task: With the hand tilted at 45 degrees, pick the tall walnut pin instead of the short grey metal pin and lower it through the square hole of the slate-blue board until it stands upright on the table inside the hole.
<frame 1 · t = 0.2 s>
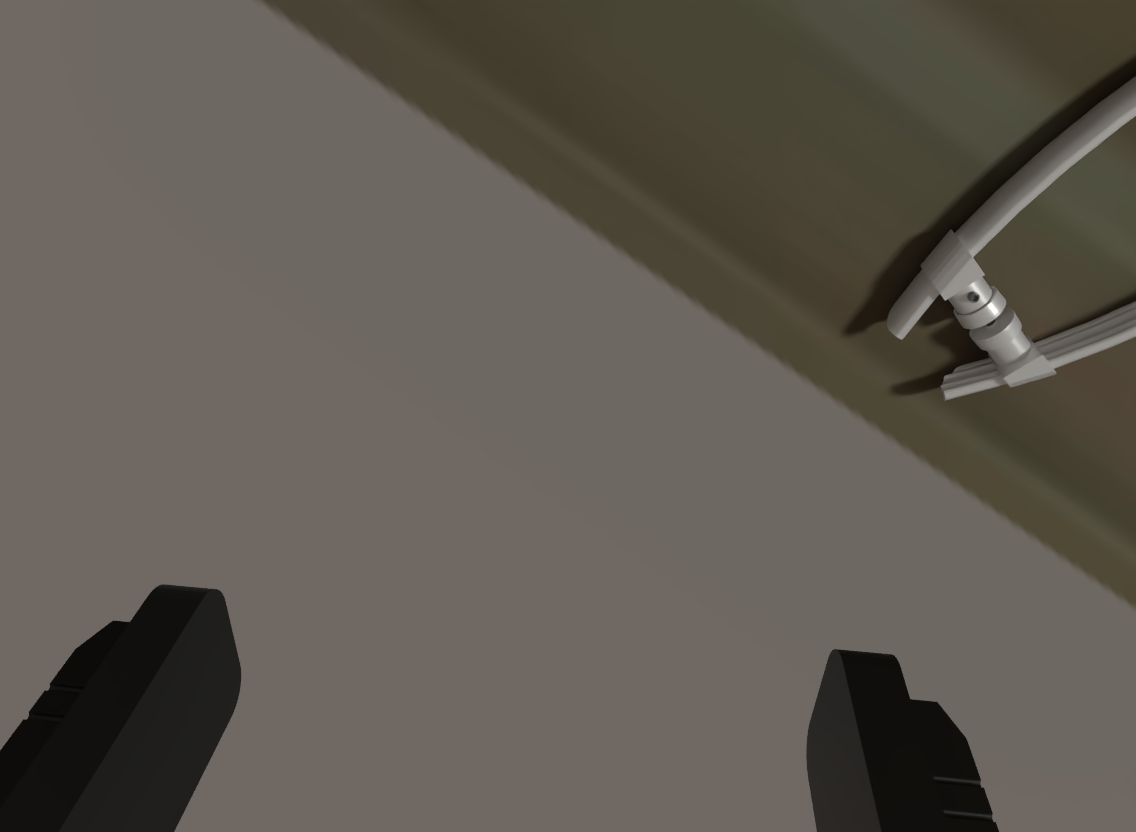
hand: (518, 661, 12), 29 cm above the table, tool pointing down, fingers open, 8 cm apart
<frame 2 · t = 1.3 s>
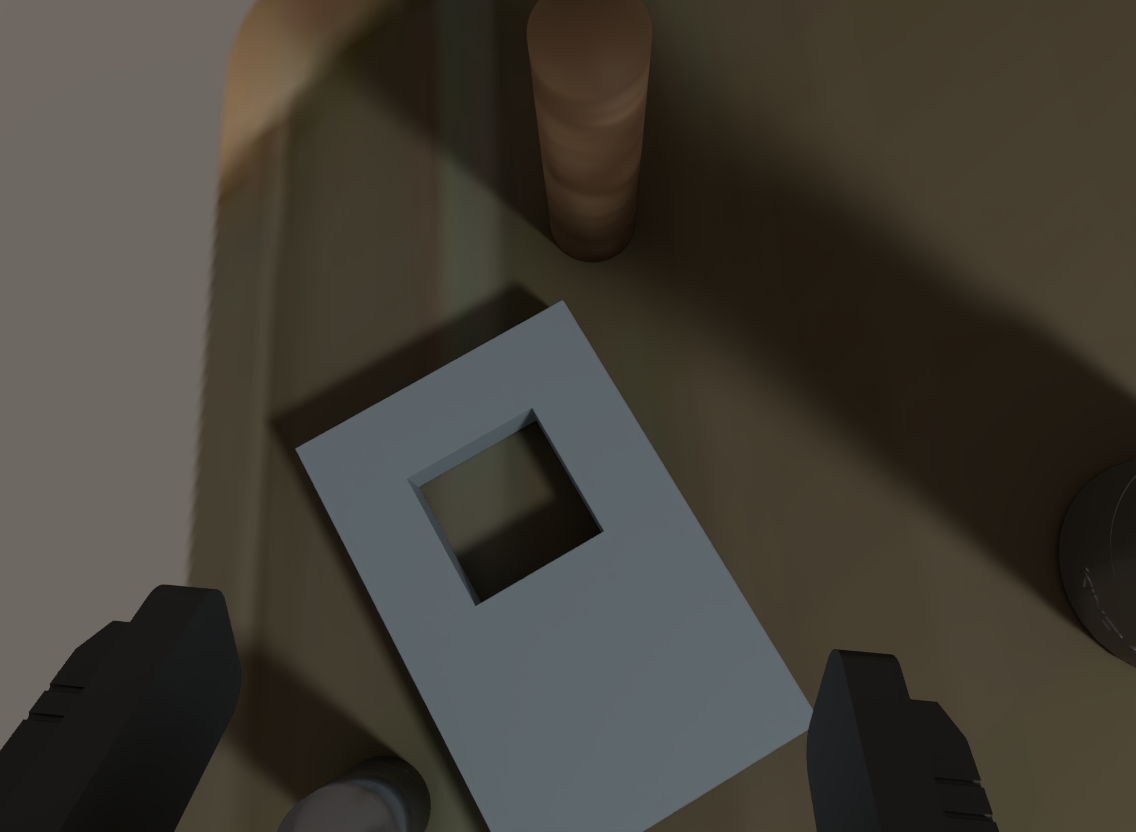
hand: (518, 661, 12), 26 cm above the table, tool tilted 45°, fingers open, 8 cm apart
short pin: (382, 807, 36), on the table
long pin: (592, 222, 41), on the table
hole board: (510, 511, 39), on the table
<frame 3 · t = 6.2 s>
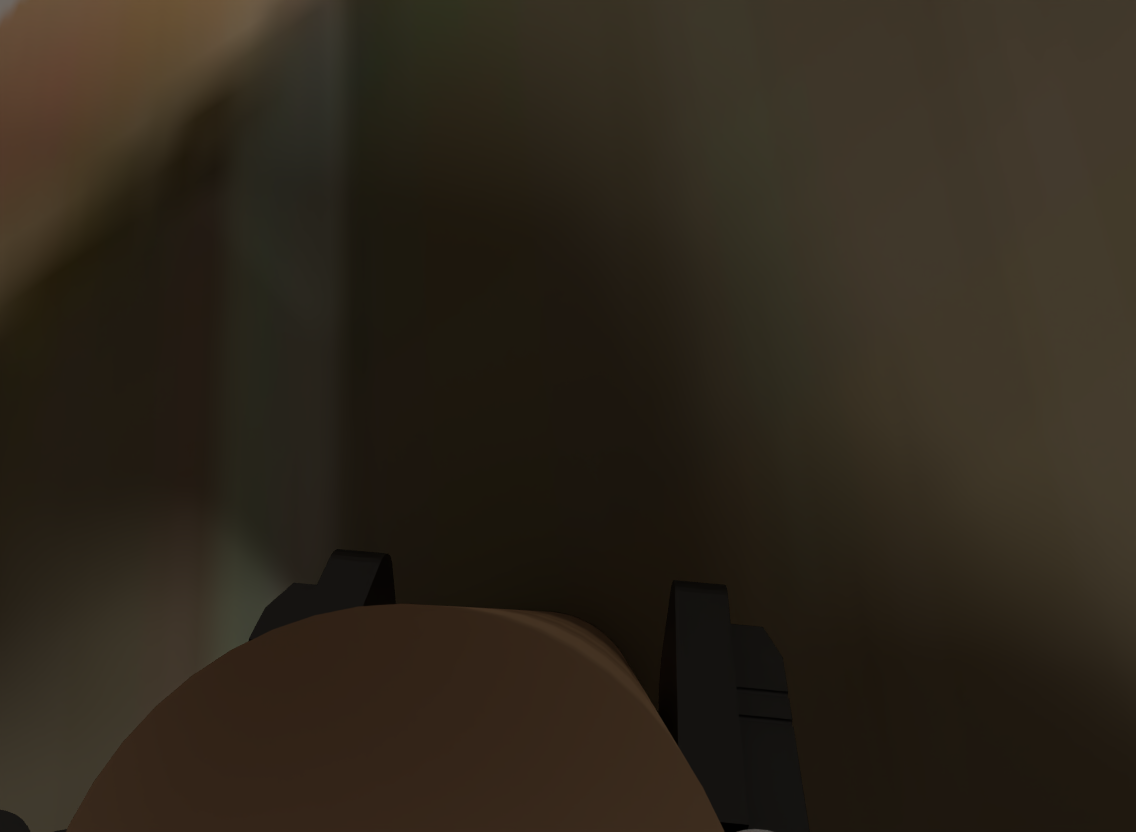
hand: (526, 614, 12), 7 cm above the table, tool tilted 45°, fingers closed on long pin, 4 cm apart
long pin: (543, 709, 18), on the table, touching gripper
when the fingers open (8 cm above the table, at t = 12.7 s): long pin drops 2 cm, resting in hole board.
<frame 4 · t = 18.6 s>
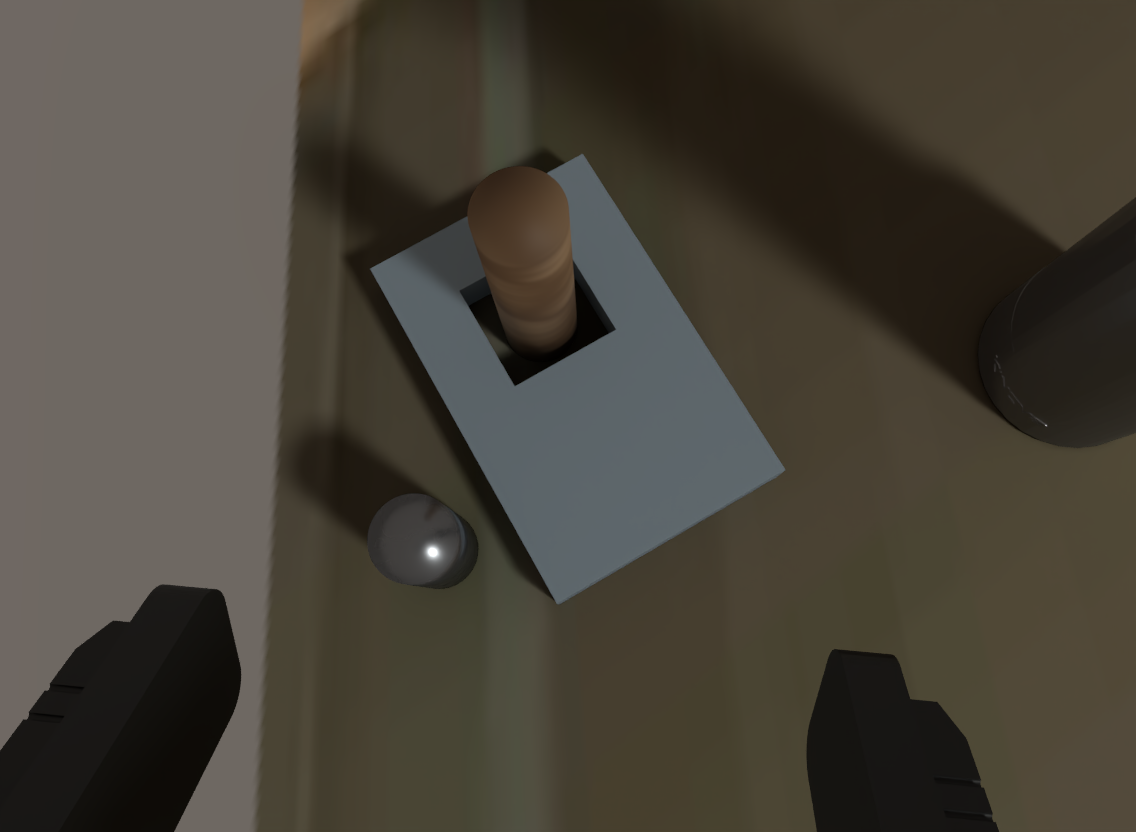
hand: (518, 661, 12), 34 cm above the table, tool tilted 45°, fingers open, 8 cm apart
short pin: (440, 549, 46), on the table
long pin: (541, 326, 48), resting in hole board
hole board: (540, 325, 48), on the table
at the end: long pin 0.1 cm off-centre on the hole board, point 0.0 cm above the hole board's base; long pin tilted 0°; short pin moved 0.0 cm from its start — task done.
